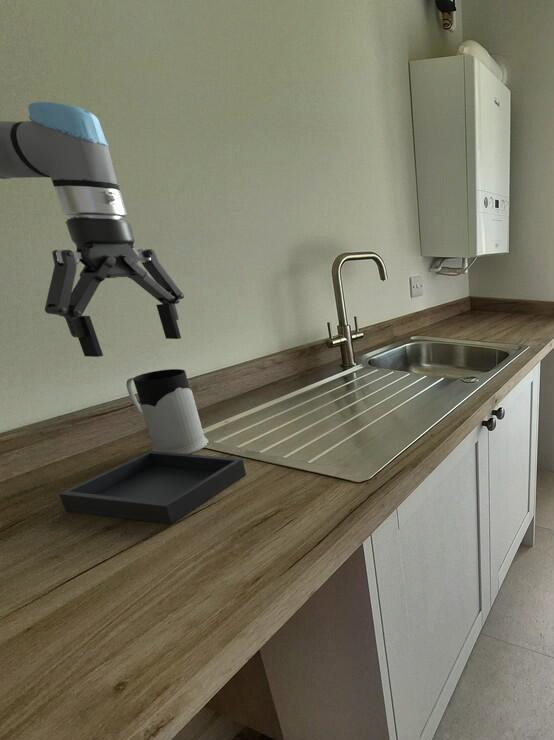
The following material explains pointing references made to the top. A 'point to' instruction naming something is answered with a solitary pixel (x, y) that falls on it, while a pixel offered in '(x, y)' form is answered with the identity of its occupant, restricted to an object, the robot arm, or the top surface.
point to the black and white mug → (168, 411)
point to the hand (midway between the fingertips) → (137, 346)
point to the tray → (154, 487)
